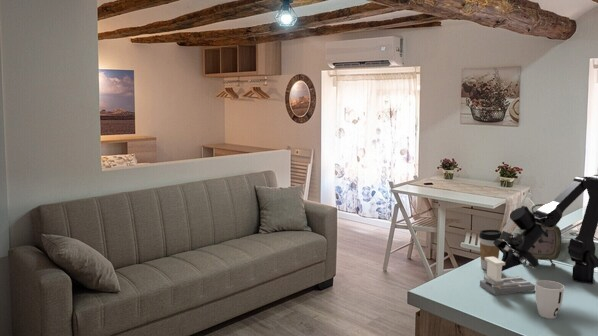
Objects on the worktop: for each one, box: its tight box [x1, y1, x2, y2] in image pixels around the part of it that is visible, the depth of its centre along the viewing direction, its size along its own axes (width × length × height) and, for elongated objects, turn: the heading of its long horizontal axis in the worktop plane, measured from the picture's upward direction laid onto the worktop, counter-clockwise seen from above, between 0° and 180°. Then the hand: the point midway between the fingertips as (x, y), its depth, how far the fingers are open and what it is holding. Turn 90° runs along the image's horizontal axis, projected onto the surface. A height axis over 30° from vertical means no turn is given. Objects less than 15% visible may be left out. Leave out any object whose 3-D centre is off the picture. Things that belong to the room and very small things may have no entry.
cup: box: [534, 279, 565, 319], centre depth 164 cm, size 8×8×10 cm
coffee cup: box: [478, 229, 502, 271], centre depth 207 cm, size 8×8×15 cm
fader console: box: [479, 276, 536, 296], centre depth 186 cm, size 16×9×3 cm, turn 104°
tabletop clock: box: [518, 203, 562, 268], centre depth 209 cm, size 14×9×25 cm, turn 77°
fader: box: [483, 256, 505, 285], centre depth 184 cm, size 4×7×8 cm, turn 14°
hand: (499, 270), depth 185 cm, fingers closed
